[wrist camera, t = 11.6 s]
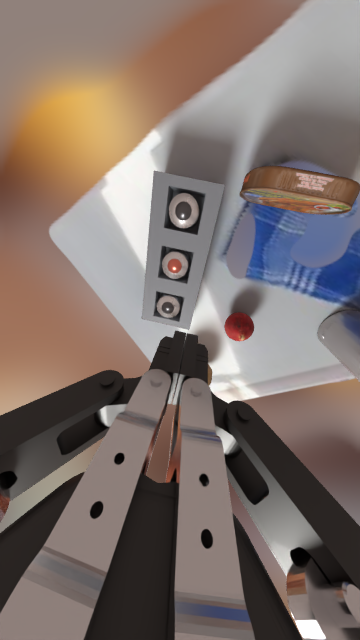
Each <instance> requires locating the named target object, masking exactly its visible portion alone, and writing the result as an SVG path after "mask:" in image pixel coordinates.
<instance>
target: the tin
mask: <svg viewBox="0 0 360 640" xmlns="http://www.w3.org/2000/svg"><path fill="white" fill-rule="evenodd" d="M359 191H360V184H359V183H358V182H356V181H354V180H351V179H348V178H344V177H339V176H334V175H329V174H323V173H318V172H312V171H306V170H300V169H295V168H289V167H282V166H264V167H258V168H255V169H253V170H251V171H250V172H249V173H248V174H247V175H246V176H245V179H244V182H243V186H242V190H241V192H240V196H241V197H242V198H243V199H245V200H247V201H249V202H253V203H257V204H261V205H266V206H272V207H277V208H282V209H287V210H292V211H297V212H303V213H310V214H325V215H326V214H342V213H347V212H349V211H351V209H352V205H353V204H354V202H355V200H356V198H357V196H358V194H359Z"/></svg>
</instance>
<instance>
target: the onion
mask: <svg viewBox="0 0 360 640" xmlns="http://www.w3.org/2000/svg"><path fill="white" fill-rule="evenodd" d="M224 327H225V331H226V334H227V335H228V336H229V338H231V339H233V340H235V341H244V340H246V339H248V338H249V337H250V336H251V335H252V333H253V331H254V324H253V321H252V319H251V318H250V317H249V316H248V315H247V314H244V313H241V312H238V313H233V314H232V315H230V316H229V317H228V318H227V320H226V322H225V326H224Z"/></svg>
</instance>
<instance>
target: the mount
mask: <svg viewBox="0 0 360 640" xmlns="http://www.w3.org/2000/svg"><path fill="white" fill-rule="evenodd" d="M224 187H225V185H223V184H218V183H213V182H208V181H203V180H198V179H193V178H188V177H183V176H178V175H173V174H168V173H163V172H158V171H154V176H153V188H152V201H151V213H150V225H149V238H148V250H147V262H146V274H145V287H144V299H143V311H142V319H144V320H149V321H153V322H158V323H162V324H166V325H171V326H175V327H179V328H184V329H188V330H189V328H190V324H191V320H192V316H193V312H194V308H195V304H196V300H197V296H198V292H199V288H200V284H201V280H202V276H203V272H204V268H205V264H206V260H207V256H208V252H209V248H210V244H211V240H212V236H213V232H214V228H215V224H216V220H217V216H218V212H219V207H220V203H221V199H222V195H223V191H224ZM181 193H187V194H190V195H191V196H193V197H194V198H195V200H196V201H197V204H198V206H199V210H200V214H199V218H198V220H197V222H196V223H195V224H194V225H193V226H191V227H189V228H179V227H177V226H176V225H174V224H173V222H172V221H171V219H170V216H169V206H170V203H171V201H172V199H173V198H174V197H175V196H176V195H178V194H181ZM175 249H180V250H183V251H185V252H186V253H187V254H188V256H189V260H190V263H189V267H188V269H187V271H186V273H185V275H184V276H182V277H181V278H178V279H173V278H170V277H168V276H167V275H166V274H165V273H164V271H163V268H162V261H163V259H164V257H165V256H166V255H167V254H168V253H170V252H171V251H173V250H175ZM163 293H167V294H172V295H176V296H181V298H182V303H181V306H180V309H179V312H178V314H177V315H176V316H174V317H171V318H167V317H164V316H162V315H161V314H160V313H159V312H158V310H157V303H158V301H159V299H160V298H161V296H162V295H163Z"/></svg>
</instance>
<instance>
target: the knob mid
mask: <svg viewBox="0 0 360 640" xmlns="http://www.w3.org/2000/svg"><path fill="white" fill-rule="evenodd" d="M189 263H190V260H189V256H188V254H187V253H186V252H185V251H183V250H180V249H175V250H173V251H171V252H170V253H168V254H167V255H166V256H165V257H164V259H163V261H162V268H163V271H164V273H165V274H166V275H167V276H168V277H170V278H173V279H178V278H181V277H182V276H184V275H185V273H186V271H187V269H188V267H189Z"/></svg>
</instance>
